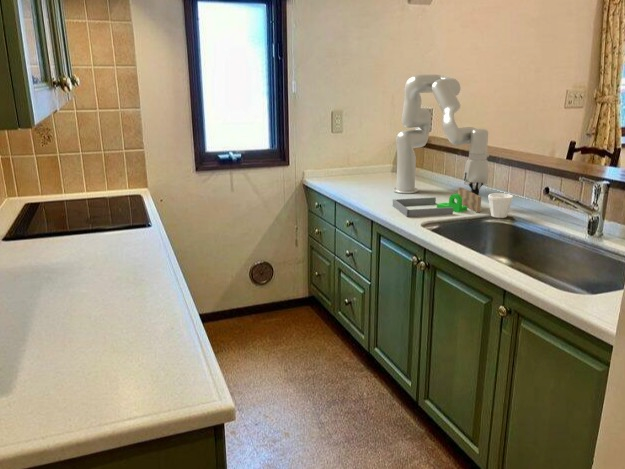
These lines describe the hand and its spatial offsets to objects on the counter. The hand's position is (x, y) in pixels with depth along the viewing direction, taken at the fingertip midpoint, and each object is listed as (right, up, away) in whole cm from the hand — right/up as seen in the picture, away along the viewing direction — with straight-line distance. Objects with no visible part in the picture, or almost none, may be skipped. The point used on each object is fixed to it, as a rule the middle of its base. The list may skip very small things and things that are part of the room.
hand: (474, 197), depth 241 cm
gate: (-3, -4, +1) cm, 5 cm away
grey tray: (-24, -6, -2) cm, 25 cm away
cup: (+5, -10, -16) cm, 19 cm away
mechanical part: (-11, -6, -2) cm, 13 cm away
